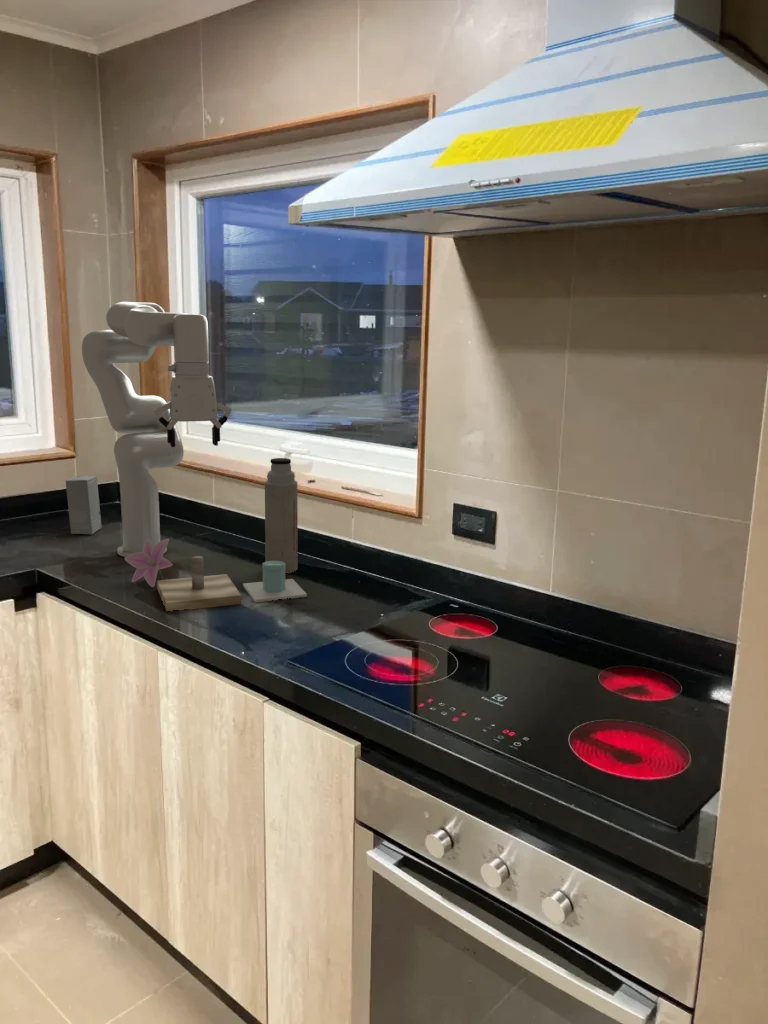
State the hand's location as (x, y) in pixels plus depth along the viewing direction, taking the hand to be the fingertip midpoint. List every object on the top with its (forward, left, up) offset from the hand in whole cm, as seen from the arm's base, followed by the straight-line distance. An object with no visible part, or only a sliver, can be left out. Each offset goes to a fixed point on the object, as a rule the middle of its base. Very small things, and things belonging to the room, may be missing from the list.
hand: (194, 445), depth 189 cm
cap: (+14, +15, -32) cm, 38 cm away
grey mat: (+14, +15, -32) cm, 38 cm away
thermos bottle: (-2, +21, -32) cm, 39 cm away
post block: (+12, -2, -32) cm, 35 cm away
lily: (-3, -11, -33) cm, 34 cm away
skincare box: (-55, -23, -32) cm, 68 cm away
